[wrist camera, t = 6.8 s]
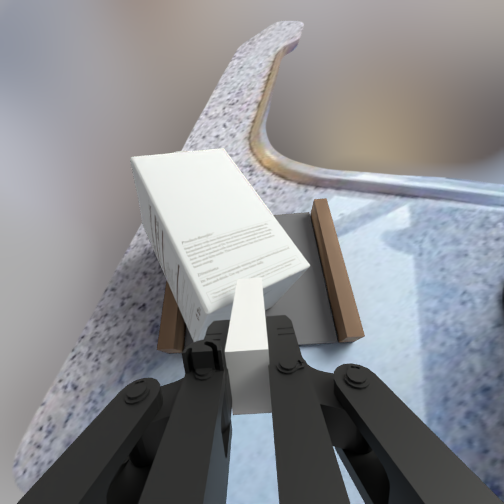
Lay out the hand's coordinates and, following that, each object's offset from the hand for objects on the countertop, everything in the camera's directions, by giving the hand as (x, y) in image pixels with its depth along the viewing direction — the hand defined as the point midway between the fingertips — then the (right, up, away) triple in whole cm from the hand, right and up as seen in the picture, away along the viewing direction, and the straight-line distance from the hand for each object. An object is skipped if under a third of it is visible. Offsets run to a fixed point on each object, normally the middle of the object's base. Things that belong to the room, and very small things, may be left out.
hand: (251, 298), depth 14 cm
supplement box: (0, -2, +5) cm, 5 cm away
